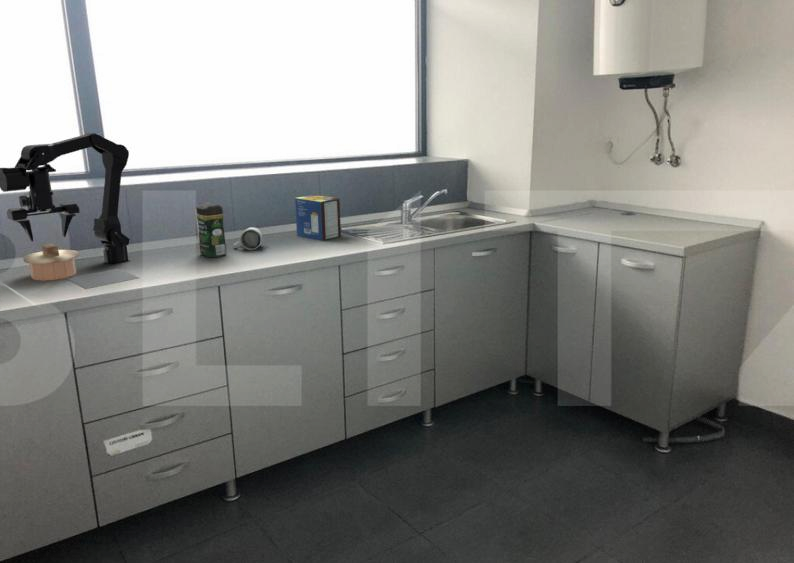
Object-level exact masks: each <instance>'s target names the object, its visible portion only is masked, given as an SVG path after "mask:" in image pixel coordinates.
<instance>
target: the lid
mask: <svg viewBox="0 0 794 563" xmlns="http://www.w3.org/2000/svg"><path fill="white" fill-rule="evenodd" d="M58 246H59V245H56V244H53V243H48V244H41V249H42V251H39V252H33V253H30V254H27V255H25V256H23V262H24V263H27V264H29V263H31V264H46V263H56V262H62V261H67V260H71V259H74V260H75V259H76V258H78V256H79V252H78V251H77V250H74V249H59V247H58Z"/></svg>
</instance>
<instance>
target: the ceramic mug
mask: <svg viewBox="0 0 794 563" xmlns="http://www.w3.org/2000/svg"><path fill="white" fill-rule="evenodd" d="M262 241H263V233H262V231H261V230H260V229H259V228H257V227H254V226H252V227H251V226H250V227H248V228H246V229H245V230H244V231H243V232H242V233H241V235H240V238H239V241H237V242H235V243H234V244H233V247H234V249H238V248H240V247H243V248H244V249H246V250H248V251H253V250H257V249H258V248H259V247H260V246H261V244H262Z"/></svg>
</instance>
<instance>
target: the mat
mask: <svg viewBox="0 0 794 563" xmlns="http://www.w3.org/2000/svg"><path fill="white" fill-rule="evenodd" d="M65 279H66V280H67V281H70V282H71V283H74V284H75V285H77V286H79V287H81V288H83V289H85V290H87V289H93V288H98V287H103V286H108V285H112V284H113V285H114V284H117V283H123V282H127V281H131V280H132V281H133V280H137V279H140V276H136V275H135V274H131V273H130V272H127V271H125V270H122V269H120V268H115V269H108V270H104V271H98V272H97V271H96V272H93V273H88V274H81V275H76V276H70V277H67V278H65Z"/></svg>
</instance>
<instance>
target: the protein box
mask: <svg viewBox="0 0 794 563" xmlns="http://www.w3.org/2000/svg"><path fill="white" fill-rule="evenodd" d="M294 201H295V202H294V203H295V220H296V221H295V222H296V224H295V225H296V236H297V237H302V238H307V239H310V240H311V239H312V240H317V241H327V240H330V239H335V238H340V237H342V232H341V231H342V228H341V226H342V224H341V204H340V203H341V201H340V198H339V197H333V196H325V195H324V196H323V195H316V194H312V195H306V196H305V195H304V196H299V197H298V196H297V197H294Z"/></svg>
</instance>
